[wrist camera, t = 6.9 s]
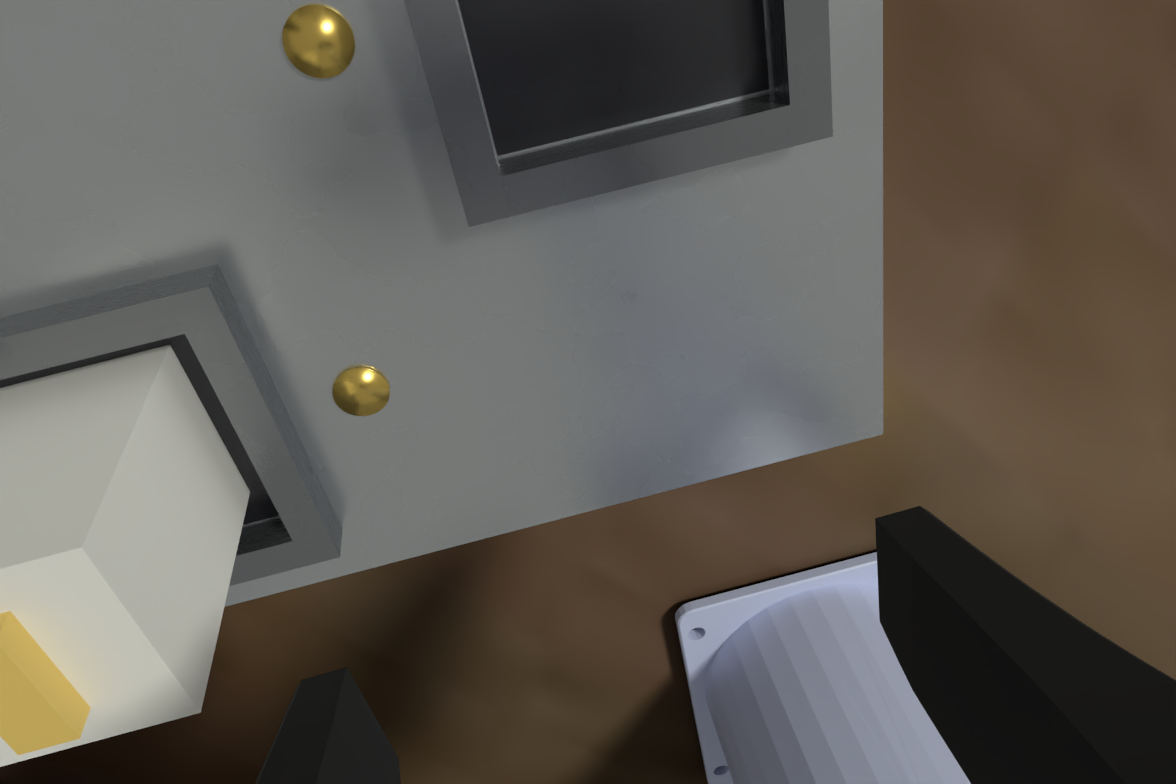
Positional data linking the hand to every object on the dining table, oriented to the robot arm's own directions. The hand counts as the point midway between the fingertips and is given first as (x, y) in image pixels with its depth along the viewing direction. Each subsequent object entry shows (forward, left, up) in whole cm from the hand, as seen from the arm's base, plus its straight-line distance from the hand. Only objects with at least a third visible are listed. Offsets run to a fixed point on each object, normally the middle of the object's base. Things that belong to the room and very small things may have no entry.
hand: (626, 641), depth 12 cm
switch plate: (+3, +3, -10) cm, 11 cm away
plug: (0, +9, -9) cm, 13 cm away
